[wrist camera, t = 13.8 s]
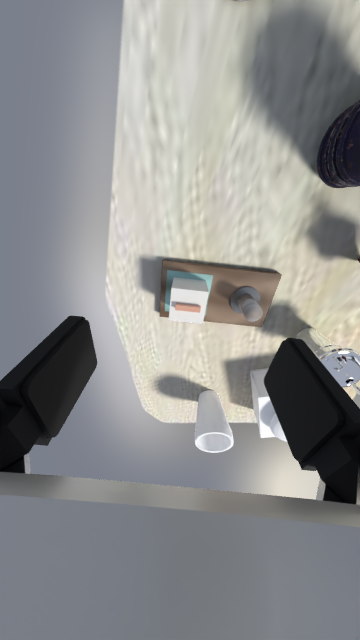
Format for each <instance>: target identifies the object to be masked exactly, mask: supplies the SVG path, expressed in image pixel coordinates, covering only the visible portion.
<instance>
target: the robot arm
mask: <svg viewBox="0 0 360 640" xmlns="http://www.w3.org/2000/svg"><path fill="white" fill-rule="evenodd" d="M238 1H247V0H238ZM96 366H97V359H96V354H95V349H94V345H93V340H92V335H91V330H90V325H89V322H88V321H87V320H85V318H84V317H80V316H69V317H68V318H67V319H66V320H65V321H63V322H62V323H61V324H60V325H59V326H58V327H57V328H56V329H55V330H54V331H53V332H52V333H51V334H50V335H49V336H48V337H46V338H45V339H44V340H43V341H42V342H41V343H40V344H39V345H38V346H37V347H36V348H35V349H34V350H33V351H31V352H30V354H28V355H27V356H26V357H25V358H24V359H23V360H22V361H21V362H20V363H19V364H18V365H17V366H16V367H14V368H13V369H12V370H11V371H10V372H9V373H8V374H7V375H6V376H5V377H4V378H3V379H2V380H1V381H0V640H360V409H359V407H358V406H357V405H356V404H355V403H354V401H353V400H352V399H351V398H350V397H349V395H348V394H347V393H346V392H345V390H344V389H343V388H342V387H341V386H340V384H339V383H338V382H337V381H336V379H335V378H334V377H333V376H332V375H331V373H330V372H329V371H328V370H327V368H326V367H325V366H324V365H323V364H322V362H321V361H320V360H319V359H318V358H317V356H316V355H315V354H314V353H313V351H312V350H311V349H310V348H309V347H308V345H307V344H306V343H305V342H304V341H303V340H302V339H296V338H287V339H286V340H285V341H283V342H282V343H281V345H280V347H279V349H278V351H277V353H276V355H275V357H274V359H273V361H272V363H271V365H270V367H269V369H268V371H267V373H266V375H265V377H264V385H265V388H266V390H267V393H268V395H269V398H270V400H271V403H272V405H273V408H274V410H275V413H276V415H277V417H278V420H279V422H280V425H281V427H282V430H283V432H284V435H285V437H286V440H287V442H288V444H289V447H290V449H291V452H292V454H293V456H294V458H295V459H296V460H297V461H298V462H299V464H300V466H301V468H302V470H310V471H316V470H317V471H318V473H319V475H320V481H319V486H318V491H317V496H316V500H313V499H302V498H292V497H282V496H271V495H261V494H251V493H241V492H230V491H220V490H209V489H199V488H188V487H177V486H166V485H155V484H145V483H133V482H122V481H110V480H100V479H88V478H76V477H65V476H53V475H39V474H31V472H30V461H29V451H30V450H31V448H32V447H33V445H34V444H36V445H46V446H47V445H48V444H49V442H50V440H51V438H52V437H55V436H56V435H58V433H59V431H60V430H61V428H62V426H63V424H64V423H65V421H66V419H67V417H68V416H69V414H70V412H71V410H72V409H73V407H74V405H75V403H76V402H77V400H78V398H79V396H80V394H81V393H82V391H83V389H84V387H85V386H86V384H87V382H88V380H89V379H90V377H91V375H92V373H93V372H94V370H95V368H96Z"/></svg>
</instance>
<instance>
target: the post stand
mask: <svg viewBox="0 0 360 640" xmlns="http://www.w3.org/2000/svg"><path fill="white" fill-rule="evenodd" d="M281 276H282V275H281V274H280V273H278V272H269V271H260V270H251V269H242V268H233V267H224V266H214V265H205V264H196V263H187V262H178V261H169V260H163V261H162V281H161V301H160V317H169V311H170V299H171V287H172V283H173V279H174V277H177V278H186V279H195V280H204V281H206V283H207V286H208V290H209V294H208V300H207V305H206V310H205V315H204V320H203V321H208V322H217V323H227V324H236V325H245V326H255V327H262V325H263V322H264V320H265V317H266V315H267V312H268V309H269V307H270V304H271V302H272V299H273V296H274V294H275V291H276V289H277V286H278V283H279V281H280V278H281Z"/></svg>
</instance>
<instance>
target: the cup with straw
mask: <svg viewBox="0 0 360 640" xmlns="http://www.w3.org/2000/svg"><path fill="white" fill-rule="evenodd" d="M296 339H302V340H303V341H304V342H305V343H306V344H307V345H308V347H309V348H310V349H311V350H312V351H313V353H314V354H315V355H316V356H317V358H318V359H319V360H320V361H321V362H322V364H323V365H324V366H325V367H326V368H327V370H328V371H329V372H330V373H331V375H332V376H333V377H334V378H335V379H336V381H337V382H338V383H339V384H340V386H341V387H349V386H352V387H353V389H354V390H355V391H356V392H357V393H358V394H359V395H360V388H359V387H358V386H357V385H356V383H357V382H358V381H359V380H360V356H359V354H358V353H357V352H356V351H355V350H352V349H349V348H343V347H341V346H339V345H337V344H335V343H334V342H332V341H331V340H329V339H328V338H326V337H325V336H323V335H322V334H321V333H319V332H318V331H316V330H315V329H313V328H306V329H303V330H302V331H300V332H299V333H298V334H297V337H296Z"/></svg>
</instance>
